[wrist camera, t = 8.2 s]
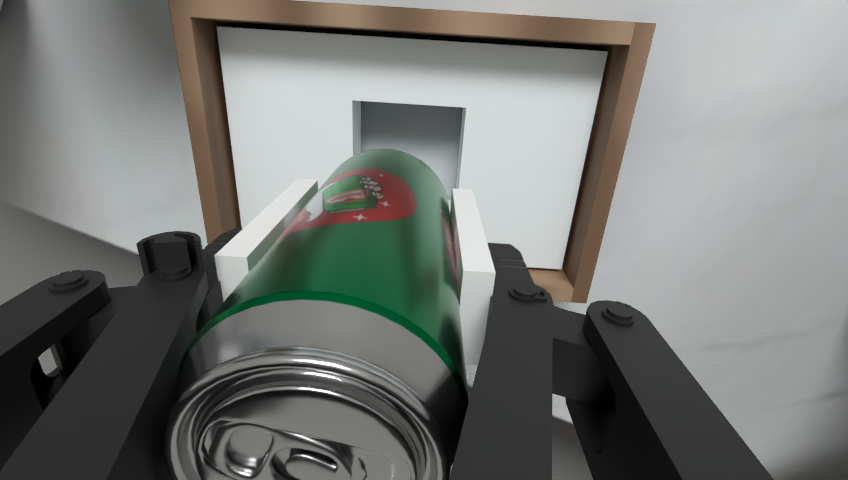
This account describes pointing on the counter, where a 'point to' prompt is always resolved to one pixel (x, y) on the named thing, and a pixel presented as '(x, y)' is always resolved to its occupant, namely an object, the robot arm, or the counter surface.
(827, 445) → the counter surface
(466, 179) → the socket plate
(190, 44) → the open box
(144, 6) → the counter surface
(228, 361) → the soda can
